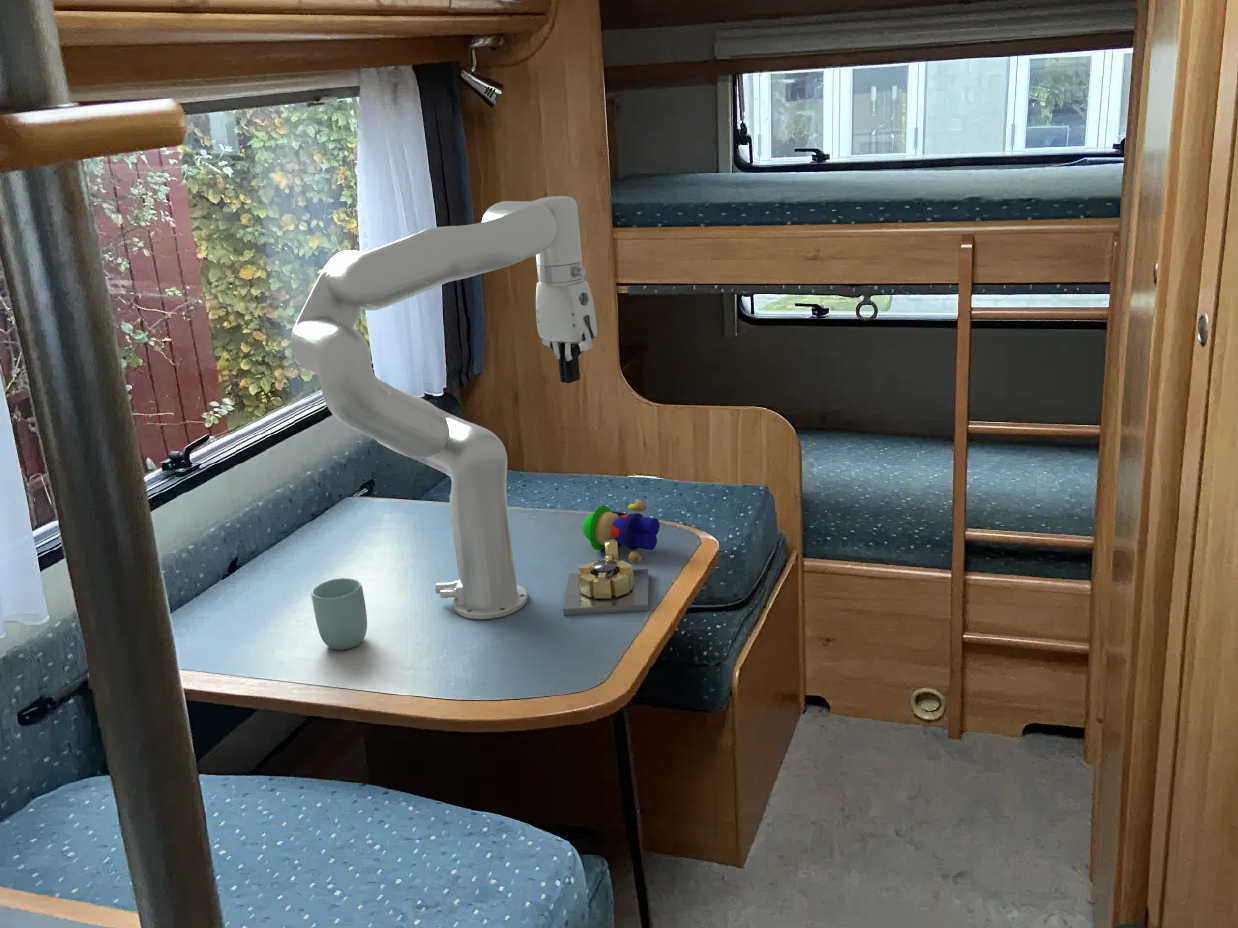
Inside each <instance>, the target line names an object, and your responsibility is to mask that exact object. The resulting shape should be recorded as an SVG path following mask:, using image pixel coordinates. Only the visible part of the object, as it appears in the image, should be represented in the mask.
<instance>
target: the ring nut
mask: <svg viewBox="0 0 1238 928" xmlns="http://www.w3.org/2000/svg"><path fill="white" fill-rule="evenodd" d="M604 550H605V556H604V559H603V560H613V561H615V562H616V563H617V569H616V570H614V575H613V576H610V577H607V575H606V573H599V575H598V574H597V572H596V571H594V569H593V565H594V563H596V562H598V561H596V560H593V561H592V562H589V563H586V564H580V565H579V567H578V572H577V573H578V580H579V590H580V592H581V593H583V594H585V595H586V596H588V597H590V598H591V597H593V596H594V598H612V596H614V597H618V596H621V595H623V594H626V593H628V592H630V590H632V588H633V585H634V575H633V570H634V567H633V565H632V564H630V563H628V562H626V561H624V560H619V559H620V558H619V557H620V556H619V546H618V544H617V541H616V540H607V541H606V542H605V548H604Z"/></svg>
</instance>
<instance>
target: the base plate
mask: <svg viewBox="0 0 1238 928" xmlns="http://www.w3.org/2000/svg"><path fill="white" fill-rule="evenodd" d="M595 561H598V562H596V563H594V565H593V569H594V571H596V572H597V574H598V575H599V573H606V575H607V577H610V576H613V575H614V570H616V569H617V563H616V562H615V561H613V560H604V559H601V560H599V559H597V560H595ZM578 573H579V572H573V573H572V572H570V573H569V574H568V578H567V583H566V590H565V595H564V596H565V597H564V601H563V606H562V613H563V616H575V615H577V616H579V615H595V614H596V615H597V614H613V613H614V614H615V613H629V612H647V611H649V584H650V583H649V582H650V581H649V577H650V574H649V568H640V569H633V575H634V585H633V588H632V590H630V592H628V593H626V594H623V595H621V596H618V597H614V596H612V598H594V596H593V597H591V598H590V597H588V596H586V595H585V594H583V593H581V592H580V590H579V580H578Z"/></svg>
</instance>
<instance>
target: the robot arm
mask: <svg viewBox="0 0 1238 928" xmlns="http://www.w3.org/2000/svg"><path fill="white" fill-rule="evenodd" d="M579 222H580V221H579V208H578V205H577V201H576V199H574V198H573V197H572V196H566V195H556V196H546V197H542V198H537V199H535V200H525V201H523V200H522V201H520V200H518V201H514V200H513V201H512V200H505V201H504V200H503V201H500V202H496V203H494V204H493V205H491V206H490V207H489V208H488V209H486V210H485V213H484V214H483V216H482V220H481V222H477V223H471V224H465V225H448V226H437V227H432V228H431V227H430V228H427V229H423V230H422V231H419V232H416V233H414V234H411V235H408V236H406V237H404V238H399V239H398V240H396V241H393V242H390V243H387V244H384V245H382V246H379V247H376V248H374V249H371V250H368V251H364V252H363V251H360V250H355V249H353V250H351V249H348V250H347V249H346V250H343V251H340V252H337V253H335V255H333V256H332V257H331V258H330V259H329V260H328V262H327V263H326V264H325V266H324V267H323V269H322V271H321V273H320V274H319V276H318V278H317V280H316V282H315V284H314V286H313V288H312V289H311V292H310V294H309V296H308V298H307V300H306V302H305V304H304V306H303V308H302V309H301V312H300V314H299V316H298V317H297V320H296V322H295V324H294V326H293V328H292V331H291V335H290V345H289V346H290V349H291V353H292V356H293V358H294V359H295V361H296V362H297V363H298V364H299V365H300V366H301V367H302V368H304V369H306V370H308V371H310V372H312V373H314V374H316V375H318V376H319V382H320V388H321V394H322V397H323V400H324V402H325V405H326V406H327V408H328V410H329V411H330V413H331V414H332V416H334V417H335V419H336V420H338V421H339V422H341V423H343V424H344V425H345V426H347V427H349V428H351V429H353V430H355V431H357V432H359V433H361V434H364V435H365V436H367V437H369V438H371V439H373V440H375V441H376V442H377V443H379V444H380V445H382V446H384V447H386V448H387V449H389V450H391V451H393V452H395V453H397V454H400V455H401V456H402V455H403V456H405V457H408V458H410V459H413V460H415V461H417V462H419V463H422V464H425V465H426V466H429V467H431V468H433V469H435V470H437V471H439V472H441V473H443V474H445V475H446V476H448V477H450V479H451V489H450V495H449V514H450V515H449V516H450V521H451V527H452V535H453V541H454V542H453V543H454V549H455V557H456V558H455V559H456V566H457V574H458V579H454V580H453V581H449V582H447V581H440V582H438V581H437V582H436V583H435V587H434V588H435V593H436V594H437V595H438V594H439V596H440V599H448V598H453V601H452V602H453V603H452V604H453V610H454V611H455V613H457V615H459V616H462V617H464V618H467V619H472V620H490V619H491V620H492V619H497V618H502V617H505V616H508V615H511V614H514V613H515V612H518V611H519V610H520V609H522V608H523V607H524V606H525V605H526V603H527V601H528V592H527V590H526V589H525V588H524V587H523V586H521V585H520V584H517V575H516V567H515V558H514V550H513V542H512V541H513V540H512V535H511V534H512V533H511V532H512V531H511V524H510V523H511V522H510V517H509V515H510V514H509V509H508V498H507V496H508V495H507V473H508V454H507V450H506V448H505V445H504V443H503V442H502V440H501V439H500V438H499V437H498V436H497V435H496V434H495V433H494V432H493V431H491V430H489V429H488V428H485V427H483V426H481V425H478V424H476V423H473V422H470V421H467V420H464V419H462V418H460V417H458V416H456V415H454V414H451V413H449V412H447V411H445V410H443V409H441V408H439V407H437V406H435V405H434V404H432V403H431V402H430V401H428V400H426V399H424V398H422V397H420V396H417V395H415V394H412V393H409V392H407V391H403V390H399V389H398V388H396V387H394V386H392V385H390V384H388V383H387V382H385V381H383V380H381V379H379V378H378V377H377V376H376V375H375V372H374V370H373V365H372V358H371V351H370V347H369V344H368V342H367V340H366V339H365V337H364V335H362V333H361V332H360V331H358V330H357V329H356V328H355V327H354V326H355V324H356V322H357V320H358V317H359V315H360V313H361V311H362V310H363V311H379V310H382V309H384V308H387V307H390V306H393V305H395V304H398V303H400V302H402V301H405V300H407V299H409V298H412V297H415V296H417V295H419V294H422V293H424V292H427V291H429V290H432V289H434V288H437V287H440V286H442V285H444V284H447V283H449V282H454V281H459V280H460V281H461V280H463V279H469V278H471V277H474V276H478V275H481V274H486V273H489V272H493V271H498V270H500V269H503V268H507V267H509V266H513V265H515V264H517V263H521V262H522V261H525V260H528V259H529V258H532V257H535V258H536V270H537V280H538V282H536V291H535V292H536V293H535V315H536V316H535V317H536V327H537V333H538V336H539V338H541V342H542V345H544V346H546V347H548V348H550V349H551V350H552V352H553V355H554V357H555V359H556V360H558V367H559V368H558V370H559V379H560V383H561V384H562V383H565V384H568V385H569V384H571V383H574V382H578V381H580V379H581V375H580V374H581V373H580V363H579V362H580V361H579V359H580V357H582V353H583V352H584V351H588V350H592V349H593V348H594V345H593V340H592V339H595V338H596V337H597V336H598V327H597V318H596V312H595V306H594V305H595V304H594V300H593V295H592V291H591V288H590V285H589V282H588V280H584V279H585V278H584V277H585V276H586V273H587V271H586V268H584V265H583V255H582V246H581V245H582V244H581V232H580V223H579Z"/></svg>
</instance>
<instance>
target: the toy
mask: <svg viewBox="0 0 1238 928" xmlns="http://www.w3.org/2000/svg"><path fill="white" fill-rule="evenodd" d="M627 508H628V509H629V510H631V511H635V512H634V513H627V512H626V513H625V512H619V511H614V510H613V511H611V509H610V507H608V506H607V505H604V504H603V505H601V506H599V507H597V508H596V510H595V511H594V512H592V513H590V514H589V515H586V517H585V519H584V521H583V523H582V532H583V535H584V536H585V538H586V539H587V540H589V541H590V545H591V546H592V548H593V549H594V550H595V551H598V552H599V551H602V550H603V549H604V550H605V542H606V541H607V540H616V541H617V544H618V547H619V548H620V547H621V548H626V549H629V550H632V551H631V552H630V553H629V555H628V559H629V561H630V562H631V563H638V562H641V561H642V559H643V557H642V556H641V555H640V553H639V552H638V551H636V550H638V549H642V550H648V551H652V550H654V549H655V548H656V546H657V544H658V538H657V535H658V533H659V531H660V526H661V525H660V522H659V521H660V520H658V518H656V517H651V516H650V517H648V516H644V515H643V514H641V513H639V512H644V511H646V509H647V507H646V504H645V503H644V502H643V501H642V500H637V501H635V503H630V504H628V507H627Z"/></svg>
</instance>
